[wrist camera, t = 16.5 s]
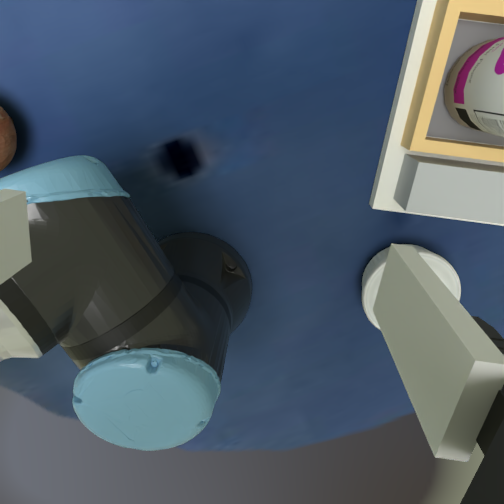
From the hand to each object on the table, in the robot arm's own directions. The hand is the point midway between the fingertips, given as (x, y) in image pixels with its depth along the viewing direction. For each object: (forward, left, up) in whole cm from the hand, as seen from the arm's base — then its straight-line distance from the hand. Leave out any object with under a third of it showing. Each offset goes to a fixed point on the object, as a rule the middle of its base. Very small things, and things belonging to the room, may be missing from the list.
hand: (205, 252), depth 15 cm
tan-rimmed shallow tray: (+5, -22, -34) cm, 41 cm away
